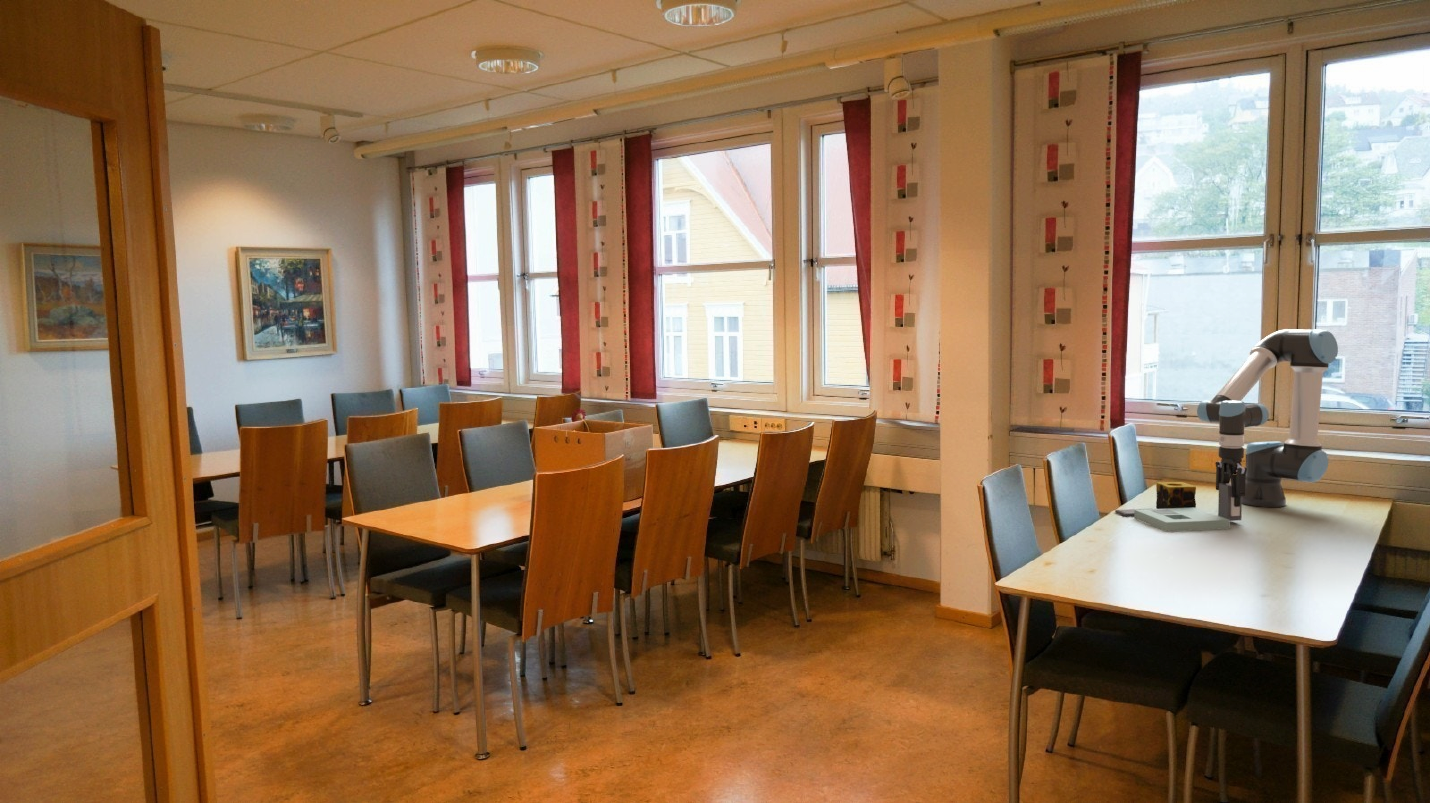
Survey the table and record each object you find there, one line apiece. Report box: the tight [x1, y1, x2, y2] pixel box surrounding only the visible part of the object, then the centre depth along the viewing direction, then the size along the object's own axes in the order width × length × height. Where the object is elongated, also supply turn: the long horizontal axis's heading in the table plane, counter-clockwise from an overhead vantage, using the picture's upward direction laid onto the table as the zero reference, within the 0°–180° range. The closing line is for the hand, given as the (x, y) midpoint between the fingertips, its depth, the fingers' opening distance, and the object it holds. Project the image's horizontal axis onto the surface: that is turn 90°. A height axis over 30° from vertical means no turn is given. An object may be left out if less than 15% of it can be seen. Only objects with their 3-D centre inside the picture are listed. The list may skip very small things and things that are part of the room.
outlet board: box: [1134, 507, 1231, 532], centre depth 325 cm, size 22×20×3 cm
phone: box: [1114, 508, 1145, 518], centre depth 340 cm, size 14×7×1 cm, turn 95°
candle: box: [1155, 481, 1197, 509], centre depth 343 cm, size 10×10×10 cm
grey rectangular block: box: [1217, 482, 1243, 522], centre depth 324 cm, size 5×5×12 cm
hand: (1229, 513), depth 324 cm, fingers closed on grey rectangular block, 5 cm apart
